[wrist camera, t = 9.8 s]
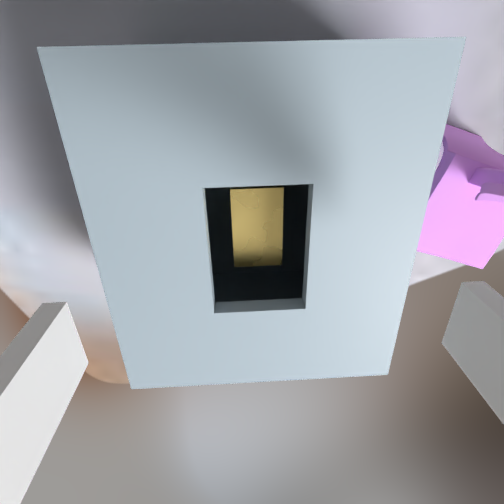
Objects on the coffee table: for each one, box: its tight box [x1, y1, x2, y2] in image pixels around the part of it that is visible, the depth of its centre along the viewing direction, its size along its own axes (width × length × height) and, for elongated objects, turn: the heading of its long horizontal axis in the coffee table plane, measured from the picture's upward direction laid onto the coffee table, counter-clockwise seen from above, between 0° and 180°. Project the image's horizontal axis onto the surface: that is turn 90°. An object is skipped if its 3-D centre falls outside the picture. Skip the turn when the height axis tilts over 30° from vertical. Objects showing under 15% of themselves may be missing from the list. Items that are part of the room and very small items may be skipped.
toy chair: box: [417, 124, 504, 269], centre depth 21 cm, size 8×9×15 cm
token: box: [230, 185, 284, 267], centre depth 23 cm, size 5×3×8 cm, turn 1°
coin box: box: [37, 37, 466, 389], centre depth 22 cm, size 18×16×12 cm
